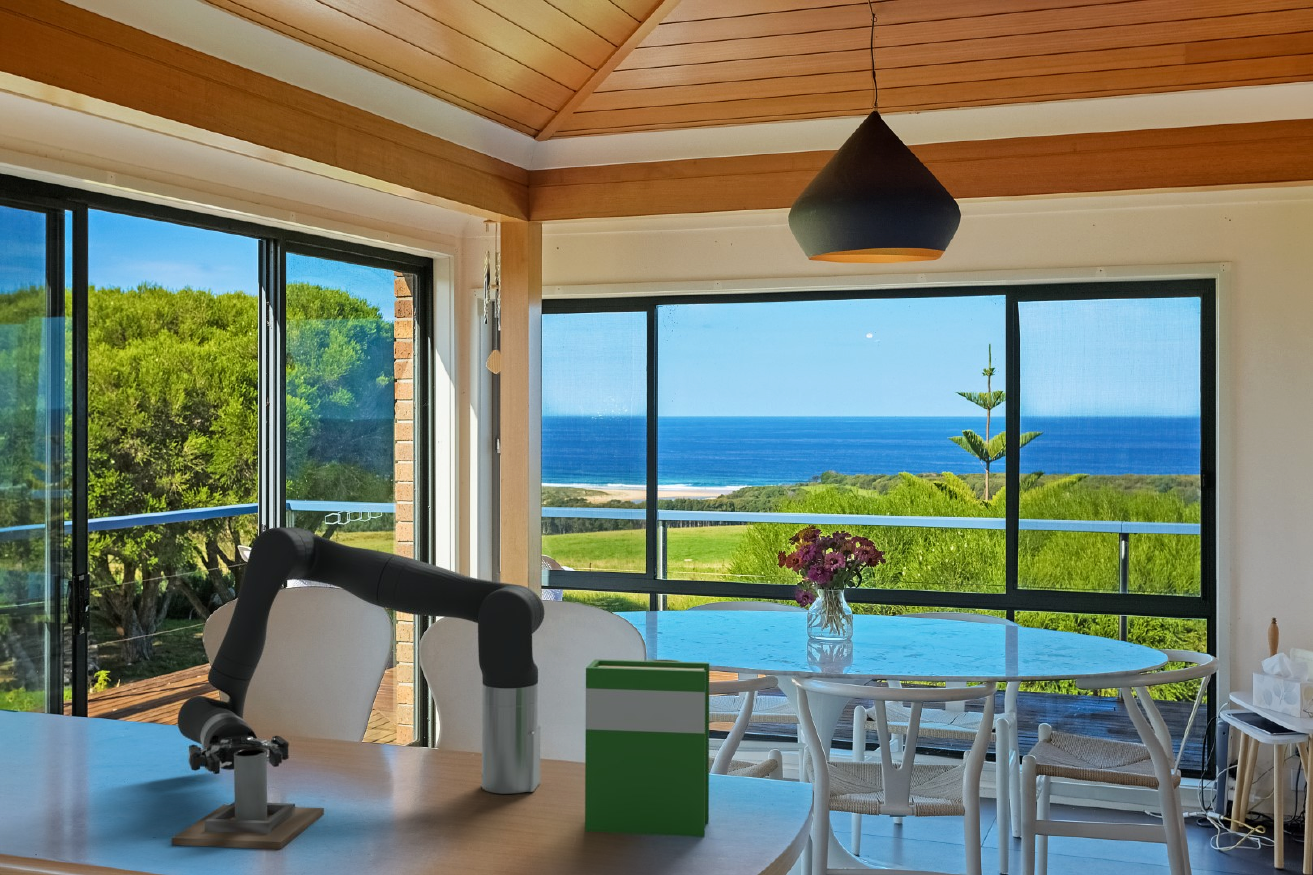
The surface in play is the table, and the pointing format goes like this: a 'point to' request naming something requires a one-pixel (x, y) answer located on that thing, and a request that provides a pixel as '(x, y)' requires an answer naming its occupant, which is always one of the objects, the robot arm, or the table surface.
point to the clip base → (249, 827)
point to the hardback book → (647, 747)
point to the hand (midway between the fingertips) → (247, 763)
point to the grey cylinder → (250, 784)
